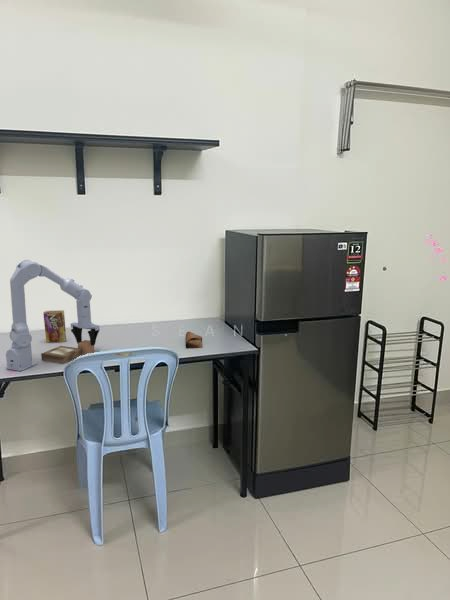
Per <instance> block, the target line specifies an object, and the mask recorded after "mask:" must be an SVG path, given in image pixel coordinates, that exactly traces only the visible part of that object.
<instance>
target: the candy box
mask: <svg viewBox="0 0 450 600" xmlns="http://www.w3.org/2000/svg"><path fill="white" fill-rule="evenodd" d="M65 319H66V317H65V310H63V309H62V310H61V309H60V310H45V311H43V323H44V331H45V343H47V344H49V343H64V342H65V341H67V331H66V321H65Z"/></svg>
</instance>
